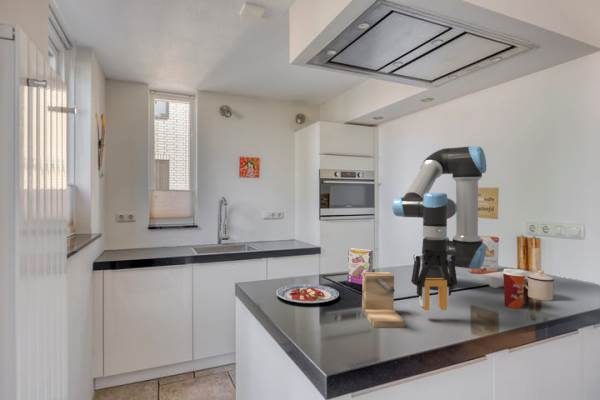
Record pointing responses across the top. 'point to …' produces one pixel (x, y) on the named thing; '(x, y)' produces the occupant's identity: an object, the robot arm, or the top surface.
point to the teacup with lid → (540, 286)
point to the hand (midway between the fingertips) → (433, 304)
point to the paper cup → (513, 287)
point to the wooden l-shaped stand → (380, 300)
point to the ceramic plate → (307, 293)
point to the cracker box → (489, 256)
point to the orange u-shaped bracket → (441, 292)
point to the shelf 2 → (499, 278)
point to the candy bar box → (359, 264)
